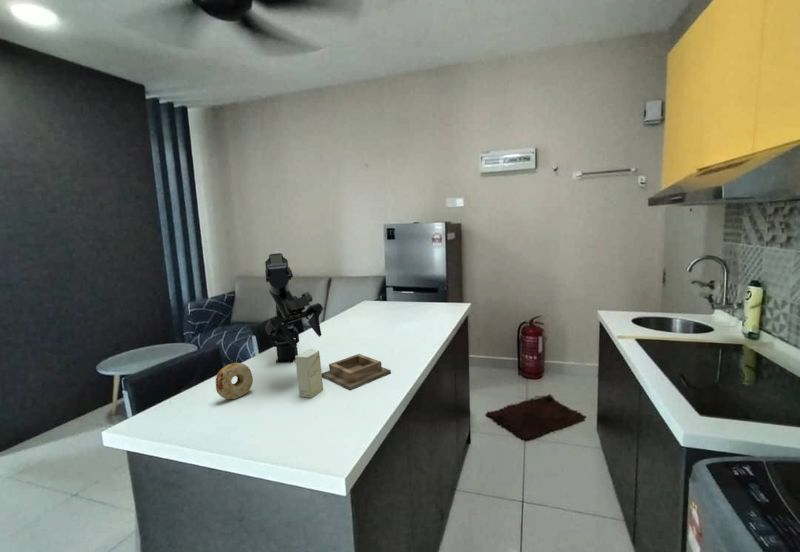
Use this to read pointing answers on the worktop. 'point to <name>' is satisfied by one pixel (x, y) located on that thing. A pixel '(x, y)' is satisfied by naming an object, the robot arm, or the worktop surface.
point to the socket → (355, 371)
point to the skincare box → (309, 373)
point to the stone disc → (237, 389)
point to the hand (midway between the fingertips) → (308, 340)
